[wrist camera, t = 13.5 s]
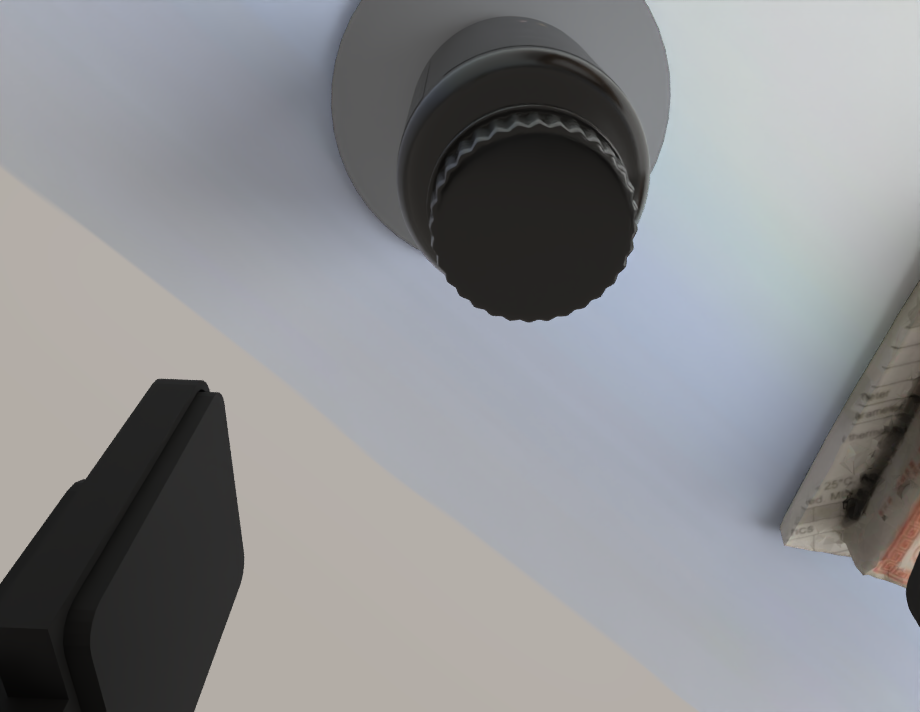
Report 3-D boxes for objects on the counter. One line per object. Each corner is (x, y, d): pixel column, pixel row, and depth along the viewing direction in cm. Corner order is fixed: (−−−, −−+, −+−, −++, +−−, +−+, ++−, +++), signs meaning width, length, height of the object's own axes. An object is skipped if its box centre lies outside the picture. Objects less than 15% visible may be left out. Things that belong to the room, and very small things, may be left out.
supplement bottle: (569, 226, 31) (620, 392, 20) (394, 181, 30) (352, 330, 20) (633, 40, 28) (732, 124, 17) (438, -15, 27) (416, 37, 16)
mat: (693, -72, 26) (697, -72, 26) (642, 269, 32) (644, 274, 32) (324, -85, 26) (322, -85, 26) (340, 259, 32) (338, 264, 32)
